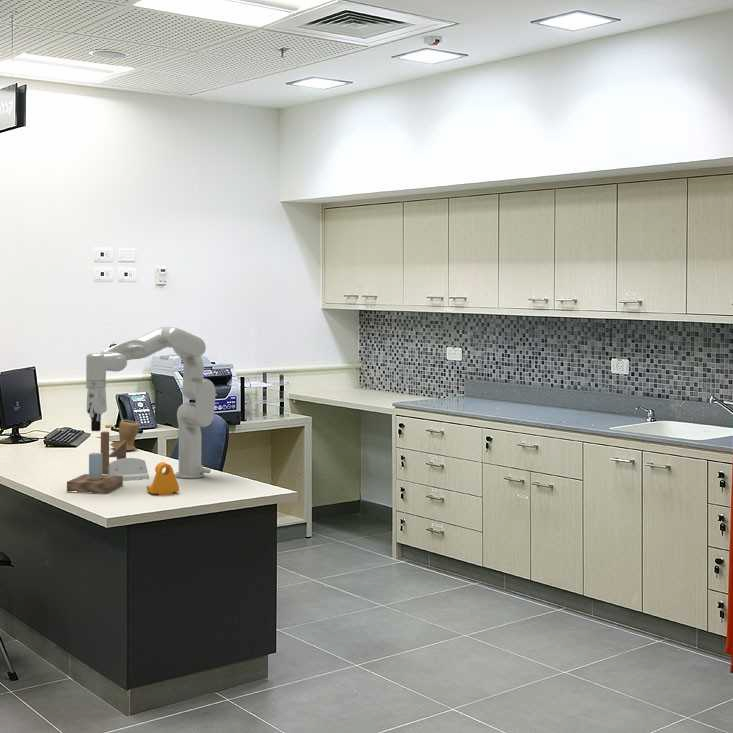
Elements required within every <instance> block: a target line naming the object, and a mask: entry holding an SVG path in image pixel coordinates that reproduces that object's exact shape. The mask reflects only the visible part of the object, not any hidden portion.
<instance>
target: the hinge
mask: <svg viewBox="0 0 733 733" xmlns="http://www.w3.org/2000/svg"><path fill="white" fill-rule="evenodd" d="M107 475H116V476H123V482H128V481H127V480H133V481H140V480H139V479H147V480H150V475H149V472H148V468H147V464H146V461H145V460H144V459H141V458H135V457H126V458H123V459H118V460H117V459H115V460H113V461H111V462H109V467H108V474H107Z"/></svg>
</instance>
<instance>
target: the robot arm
mask: <svg viewBox="0 0 733 733" xmlns="http://www.w3.org/2000/svg"><path fill="white" fill-rule="evenodd" d="M206 347H207V346H206V343H205V341H204V339H202V338H201V337H199V336H196V335H194V334H192V333H191V332H187V331H185V330H183V329H182V328H178V327H171V326H161V327H159V328H157V329H154V330H152V331H150V332H147V333H146V334H143V335H142V336H140V337H137V338H133V339H131V340H128V341H126V342H122V343H119V344H116V345H114V346H111V347H109V348H106V349H104V350H103V351H101V352H100V353H98V352H96V353H95V352H94V353H93V352H92V353H91V352H90V353H87V355H86V358H85V369H86V370H85V371H86V372H85V380H86V381H85V383H86V384H85V388H86V389H87V394H86V412H87V414H88V415H89V418H90V423H91V424H90V428H91V429H90V430H91V432H101V431H102V430H101V428H102V427H101V424H102V423H101V422H102V414H104V413H106V412H107V410H108V408H107V407H108V406H107V405H108V404H107V392H106V391H107V390H106V388H107V372H116V373H117V372H121V371H123V370H124V369H125V368H126V367H127V365H128V361H130V360H131V361H132V360H140V359H145V358H148V357H150V356H152V355H154V354H156V353H158V352H160V351H162V350H164V349H166V348H169V349H170V348H172V349H173V352H174V353H175V354H176V355H177V356H178V357H179V358H180V359H181V362H182V366H183V376H182V385H181V386H182V387H181V390H182V391H181V392H182V396H183V397H185V398H186V399H187V400H194V401H195V402H184V403H182V404H181V405H179V406H178V408H177V412H176V418H177V419H176V420H177V424H178V425H177V426H178V471H177V472H174V474H175V477H176V478H178V477H179V479H200V477H201V478H203V477H205V475H206V474H211V472H212V470H211V468H209V467H208V468H207V467H204V465H203V464H202V430H201V428H205V427H209V426H210V425H211V424H212V422H213V420H214V415H215V408H216V407H215V406H216V391H217V390H216V386H215V384H214V383H213V382H212V381H211V380H210V379H208V378H204V376H205V375H204V373H205V372H204V370H205V365H204V360H203V358H202V356H203V355H204V354H205V353H206V350H207V348H206Z"/></svg>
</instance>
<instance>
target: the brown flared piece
mask: <svg viewBox="0 0 733 733" xmlns="http://www.w3.org/2000/svg"><path fill="white" fill-rule="evenodd" d="M139 429H140V423H139V422H137V421H136V420H135V421H134V420H129V419H122V420H120V421H119V426H118V435H119V441H114V442H111V443H109V446H111V447H113V448H114V449H116V448H117V447H118V446H119V445H120V444H121V443H122V442H123V441H124V440H126V452H127V451H128V452H129V451H130V452H131V451H134V450H136V449H137V448H136V446H135V439H136V438H137V435H138V433H139V431H140V430H139Z"/></svg>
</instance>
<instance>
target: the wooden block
mask: <svg viewBox="0 0 733 733" xmlns="http://www.w3.org/2000/svg"><path fill="white" fill-rule="evenodd" d="M100 453H102V475H108V467H109V463H110V458H116V460H118V459H123V458H127V451H126V440H124V441H123V442H122V443H121V444H120V445H119V446H118V447H117V448H114V450H112V452H111V453H110V432H109V431H106V430H105V431H100Z"/></svg>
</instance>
